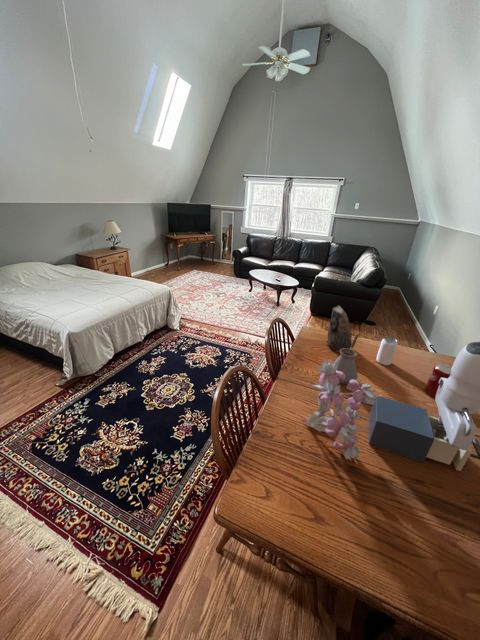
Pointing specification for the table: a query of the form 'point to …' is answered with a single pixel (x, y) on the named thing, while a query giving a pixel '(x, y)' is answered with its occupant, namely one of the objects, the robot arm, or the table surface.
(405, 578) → the table surface
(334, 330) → the owl
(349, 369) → the coffee pot
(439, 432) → the block
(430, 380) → the soda can
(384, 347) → the can
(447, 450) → the cream drawer
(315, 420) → the flower
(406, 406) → the cabinet
